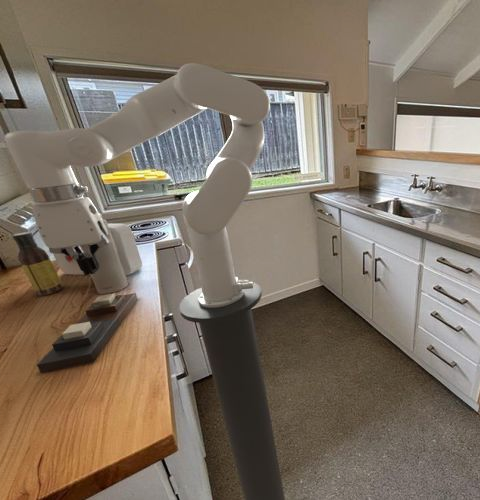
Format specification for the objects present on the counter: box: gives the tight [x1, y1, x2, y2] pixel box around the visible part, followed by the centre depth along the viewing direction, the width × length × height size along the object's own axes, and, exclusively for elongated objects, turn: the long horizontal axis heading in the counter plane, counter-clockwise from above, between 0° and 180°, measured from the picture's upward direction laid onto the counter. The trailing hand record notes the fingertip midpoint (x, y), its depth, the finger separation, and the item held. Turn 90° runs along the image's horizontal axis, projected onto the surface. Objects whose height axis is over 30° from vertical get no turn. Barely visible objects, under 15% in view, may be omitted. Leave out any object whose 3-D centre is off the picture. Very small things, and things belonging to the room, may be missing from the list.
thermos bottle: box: [80, 202, 129, 295], centre depth 88 cm, size 8×8×28 cm
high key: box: [61, 322, 92, 340], centre depth 64 cm, size 4×4×2 cm
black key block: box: [36, 318, 120, 374], centre depth 65 cm, size 9×14×4 cm, turn 19°
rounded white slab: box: [52, 223, 143, 276], centre depth 101 cm, size 29×8×18 cm, turn 85°
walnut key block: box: [75, 292, 138, 326], centre depth 77 cm, size 9×14×4 cm, turn 19°
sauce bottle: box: [11, 231, 63, 296], centre depth 88 cm, size 6×6×20 cm
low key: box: [92, 293, 116, 307], centre depth 77 cm, size 4×4×2 cm
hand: (92, 272), depth 66 cm, fingers closed
